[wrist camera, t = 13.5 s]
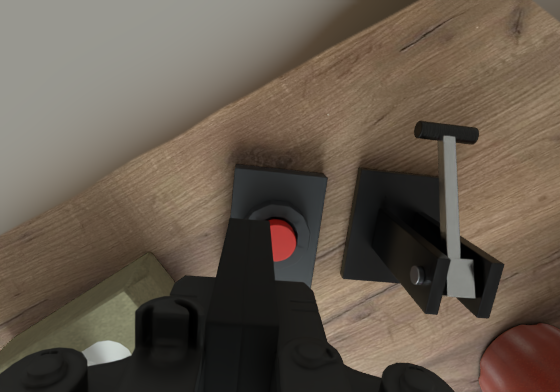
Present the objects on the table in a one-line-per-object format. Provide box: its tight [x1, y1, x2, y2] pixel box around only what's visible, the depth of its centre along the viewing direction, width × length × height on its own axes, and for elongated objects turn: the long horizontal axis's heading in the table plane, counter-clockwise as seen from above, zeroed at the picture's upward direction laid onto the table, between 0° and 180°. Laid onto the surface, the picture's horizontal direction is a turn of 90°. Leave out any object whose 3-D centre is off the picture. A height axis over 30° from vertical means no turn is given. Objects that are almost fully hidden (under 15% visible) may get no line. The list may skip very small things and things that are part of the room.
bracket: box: [340, 168, 504, 318], centre depth 33 cm, size 12×10×14 cm
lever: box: [414, 121, 479, 298], centre depth 29 cm, size 14×5×2 cm, turn 171°
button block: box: [230, 164, 328, 289], centre depth 37 cm, size 12×9×4 cm
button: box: [269, 219, 296, 261], centre depth 34 cm, size 4×4×2 cm
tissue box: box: [0, 252, 175, 374], centre depth 33 cm, size 19×10×16 cm, turn 122°
